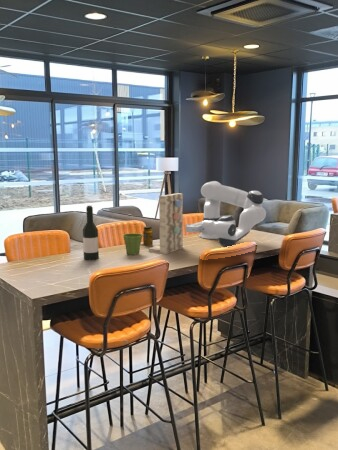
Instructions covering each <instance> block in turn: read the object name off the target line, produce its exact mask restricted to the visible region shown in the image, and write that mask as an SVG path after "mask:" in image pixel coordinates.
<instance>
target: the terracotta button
mask: <svg viewBox="0 0 338 450" xmlns="http://www.w3.org/2000/svg"><path fill="white" fill-rule="evenodd" d="M173 219H174V220H179V219H180V214H179V213H174V215H173Z"/></svg>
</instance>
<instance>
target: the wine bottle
mask: <svg viewBox="0 0 338 450" xmlns="http://www.w3.org/2000/svg"><path fill="white" fill-rule="evenodd" d="M85 209H86V223H85V225H84V227H83V228H82V243H83V244H82V245H83V246H82V248H83V259H84V260H85V261H97V260H98V259H100V258H99V230H98V228H97V226H96V224H95V223H94V212H93V211H94V210H93V209H94V208H93V205H86V208H85Z"/></svg>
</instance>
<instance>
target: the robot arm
mask: <svg viewBox="0 0 338 450" xmlns="http://www.w3.org/2000/svg"><path fill="white" fill-rule="evenodd" d="M200 194H201V196H202V197H204V199H205V202H204V203H203V204H204V205H203V217H202V221H199V222H195V223H186V224H185V226H184V227H185V232H186V233H191V234H193V233H194V234H196V233H197V234H198V233H200V234H198V237H199V238H202V239H207V240H208V239H209V240H217V239H218V244H219V245H220V246H221V247H222V248H225V247H227V246H232V245H234V246H235V245H236V244H237V243H238V242H239V241H240V240H241V239H243V238H245V237H246V236H247V235H249V234H250V231H251V230H252V229H253V227H254V226H255V225H257V224H259V223H261V222H262V221H263V220H265V218H266V217H267V211H266V209H265V208H264V207H263V203H264V195H263V193H262V192H260V191H259V190H250V191H248V192H247V191H245V190H242V189H239V188H237V187H236V188H235V187H233V186H229V185H228V186H227V185H223V184H222V183H220V182H219V181H216V180H212V181H208V182H205V183H204V184H203V185H202V186H201V188H200ZM221 202H222V203H226V204H230V205H233V206H236V207H240V208H243V211H241V213H239V219H238V225H237V226H238V227H237V226H236V219H235V218H234V217H233V216H231V215H221V214H220V212H221ZM232 247H233V246H232Z"/></svg>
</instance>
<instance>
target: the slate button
mask: <svg viewBox="0 0 338 450" xmlns="http://www.w3.org/2000/svg"><path fill="white" fill-rule="evenodd" d="M181 204H182V202H181V200H176V201H175V202H173V205H175V206H176V207H181Z"/></svg>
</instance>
